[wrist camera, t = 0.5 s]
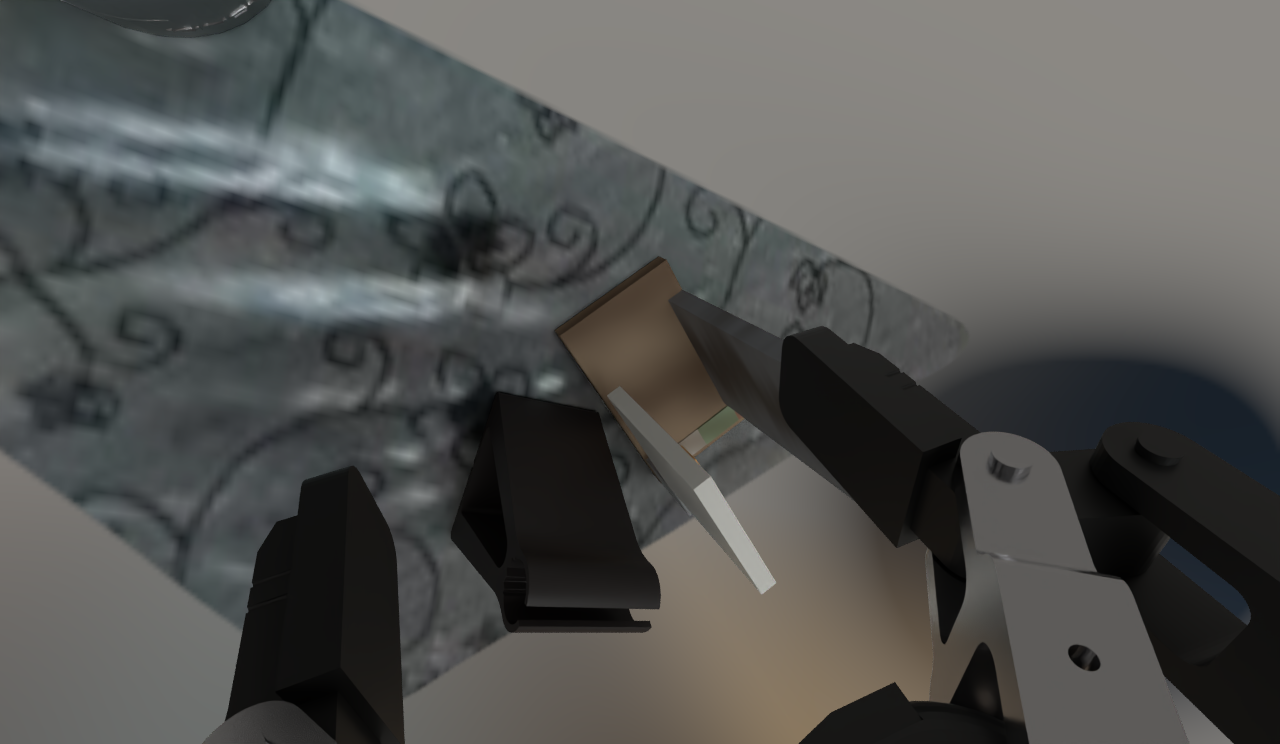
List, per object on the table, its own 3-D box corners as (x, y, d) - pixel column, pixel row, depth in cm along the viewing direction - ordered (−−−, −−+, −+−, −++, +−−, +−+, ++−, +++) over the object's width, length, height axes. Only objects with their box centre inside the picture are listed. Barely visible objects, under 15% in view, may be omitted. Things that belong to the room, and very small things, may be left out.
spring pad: (586, 373, 32) (693, 489, 21) (598, 365, 32) (710, 476, 22) (662, 484, 36) (780, 623, 26) (672, 476, 37) (793, 611, 26)
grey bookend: (554, 330, 32) (669, 449, 20) (658, 256, 33) (828, 328, 21) (654, 475, 38) (788, 633, 26) (739, 409, 39) (907, 532, 27)
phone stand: (497, 389, 32) (560, 512, 21) (596, 410, 34) (695, 527, 24) (449, 534, 33) (486, 711, 23) (547, 542, 36) (619, 703, 26)
